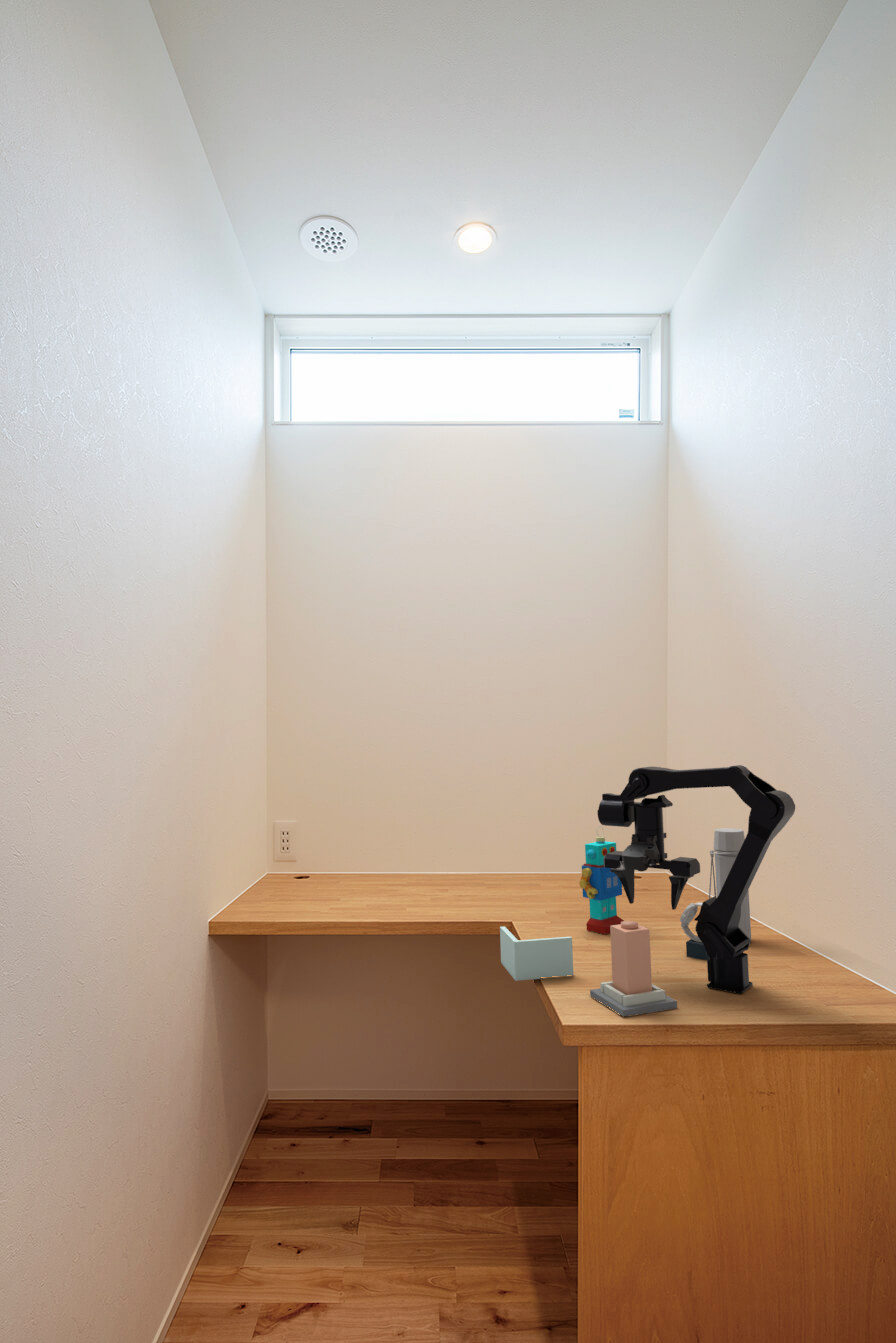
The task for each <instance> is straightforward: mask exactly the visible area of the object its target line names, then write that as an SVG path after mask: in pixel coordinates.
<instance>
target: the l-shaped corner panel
mask: <svg viewBox="0 0 896 1343" xmlns="http://www.w3.org/2000/svg"><path fill="white" fill-rule="evenodd" d="M499 934H500V935H499V936H500V937H499V939H500V942H499V943H500V964H502V966H503V967H504V968H505V970H506V971H507V972H508V974H510V976H511V977H512V978H513V980H514V981H515V982H518V981H528V980H529V981H530V980H540V978H541V977H552V976H566V977H568V976H567V975H573V976H574V958H573V956H574V955H573V953H574V952H573V937H572V936H561V937H560V936H559V937H558V936H557V937H548V938H547V937H544V938H533V939H520V940H518V939H517V938H516V936H515V935H514V934H512V932H511V931H509V929H508V928H507V927H506V926H504V925H503V926H499Z"/></svg>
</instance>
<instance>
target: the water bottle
mask: <svg viewBox="0 0 896 1343" xmlns="http://www.w3.org/2000/svg"><path fill="white" fill-rule="evenodd" d="M745 838H746V836H745V831H744V829H740V828H733V827H731V828H729V827H727V828H715V829H714V838H713V850H709V854H710V875H709V876H710V877H709V888H708V890H709V892H708V899H710V898H711V894H712V893H711V891H712V881H713V892H714V896H715V897H716V898H717V897H718V896H719V893H720V891H721V889H722V887H723V885H724V883H725V881H726V879H727V876H728V874H729V872H730V870H731V868H732V866H733V864H734V861H735V859H736V857H737V855H738V853H739V851H740V849H741V846H742V844H743V842H744V840H745ZM714 868H715V869H714ZM712 876H713V880H712ZM749 889H750V888H749ZM749 889H748V891H747V893H746V895H745V898H744V900H743V902H742V905H741V918H740V922H739V926H738V927H739V928H740V929H741V930H742V931H743V932H744V933H745V934H746V935H747V936H748V938H749V939H750V940H751V941H752V928H751V909H750V894H749V891H750V890H749Z"/></svg>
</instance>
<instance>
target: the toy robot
mask: <svg viewBox="0 0 896 1343" xmlns="http://www.w3.org/2000/svg"><path fill="white" fill-rule="evenodd" d="M599 828H602V830H604V828H603V827H602V826H601V825H599V826H598V827H597V829H596V831H598V829H599ZM598 834H599V833H596V837H595V841H593V842H589V843H585V844H584V851H585V855H584V856H585V863H583V864H582V865H581V878H580V880H579V882H578V883H579V884H578V885H579V887H580V888H581V889H582V897H583V898H586V899H588V900H589V919H588V920H587V922H586V923H585V925H586V931H587V930H588V931H587V932H591V931H594V932H593V933H595V932H598V933H597V934H600V933H602V934H601V935H604V934H605V935H607V933H608V934H611V933H610V926H611V925H619V924H621V922H622V921H625V920H624V919H623V918H621V917H619V916H618V914H617V911H618V910H617V897H618V896H619V897H620V896H622V895H623V885H622V883H621V881H620V879H619V877H618V876H617V875H616V874H615V873H613V872H610V869H611V868H605V867H604V857H605V855H606V854H607V853H611V852H614V851H617V842H614V841H606V839H605V836H603V835H604V833H602V834H601V835H598Z"/></svg>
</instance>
